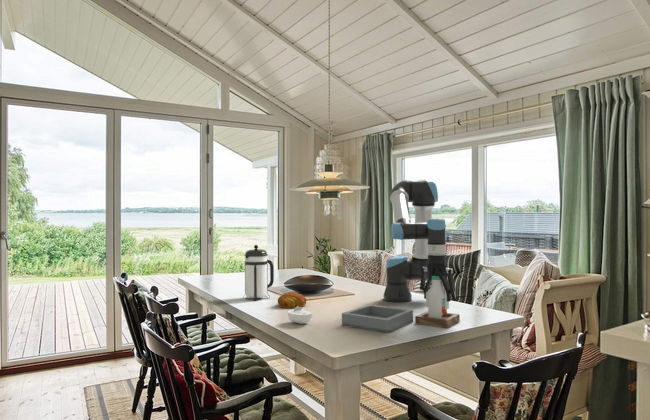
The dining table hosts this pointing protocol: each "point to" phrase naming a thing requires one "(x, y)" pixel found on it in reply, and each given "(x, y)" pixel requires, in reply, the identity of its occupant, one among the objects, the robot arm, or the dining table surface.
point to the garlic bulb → (299, 315)
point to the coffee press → (257, 273)
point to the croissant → (291, 300)
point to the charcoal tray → (377, 318)
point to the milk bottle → (436, 299)
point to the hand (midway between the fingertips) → (437, 307)
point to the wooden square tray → (437, 320)
